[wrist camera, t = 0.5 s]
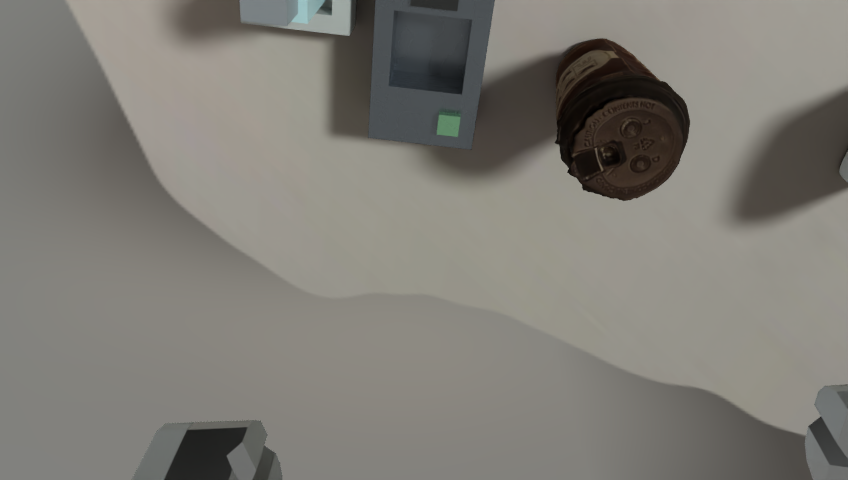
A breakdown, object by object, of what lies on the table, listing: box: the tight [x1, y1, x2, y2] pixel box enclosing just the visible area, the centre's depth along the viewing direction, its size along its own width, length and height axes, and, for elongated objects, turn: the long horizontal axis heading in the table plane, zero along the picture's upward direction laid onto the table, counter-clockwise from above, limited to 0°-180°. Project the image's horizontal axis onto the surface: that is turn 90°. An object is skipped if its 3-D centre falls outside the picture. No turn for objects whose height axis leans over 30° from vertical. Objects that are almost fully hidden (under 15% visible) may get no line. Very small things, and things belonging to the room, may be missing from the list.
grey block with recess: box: [368, 0, 495, 150], centre depth 46 cm, size 14×8×6 cm, turn 175°
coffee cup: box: [555, 39, 690, 201], centre depth 44 cm, size 9×8×13 cm
